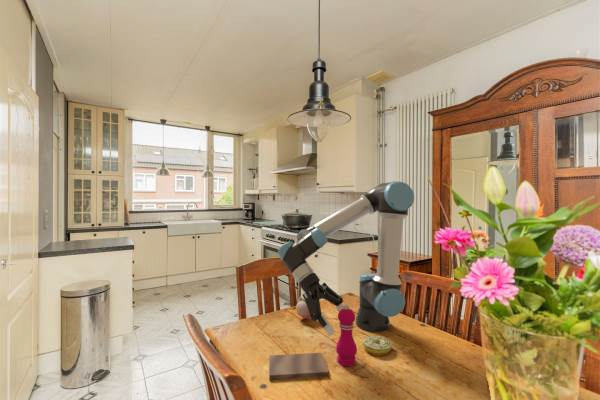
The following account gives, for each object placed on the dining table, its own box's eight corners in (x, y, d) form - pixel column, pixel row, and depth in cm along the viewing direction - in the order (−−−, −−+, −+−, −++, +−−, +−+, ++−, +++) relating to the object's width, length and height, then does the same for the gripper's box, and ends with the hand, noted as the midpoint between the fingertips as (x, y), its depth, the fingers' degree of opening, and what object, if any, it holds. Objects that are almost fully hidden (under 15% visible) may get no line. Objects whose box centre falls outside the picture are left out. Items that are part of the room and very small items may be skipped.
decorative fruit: (292, 318, 141) (292, 297, 141) (305, 314, 146) (305, 294, 146) (304, 324, 134) (304, 303, 134) (317, 320, 139) (318, 299, 139)
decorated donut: (396, 349, 112) (396, 339, 112) (383, 361, 104) (383, 350, 104) (372, 340, 119) (372, 331, 119) (358, 350, 111) (358, 340, 111)
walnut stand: (321, 356, 106) (321, 352, 106) (328, 376, 94) (328, 371, 94) (269, 359, 104) (269, 355, 104) (269, 380, 92) (269, 375, 92)
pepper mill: (356, 368, 99) (356, 309, 99) (335, 366, 100) (335, 307, 100) (356, 357, 106) (357, 302, 106) (336, 355, 107) (337, 300, 108)
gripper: (317, 276, 124) (349, 320, 115) (280, 291, 103) (316, 346, 95) (328, 265, 121) (362, 310, 112) (292, 279, 100) (331, 334, 92)
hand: (341, 326), depth 104 cm, fingers open, 13 cm apart
